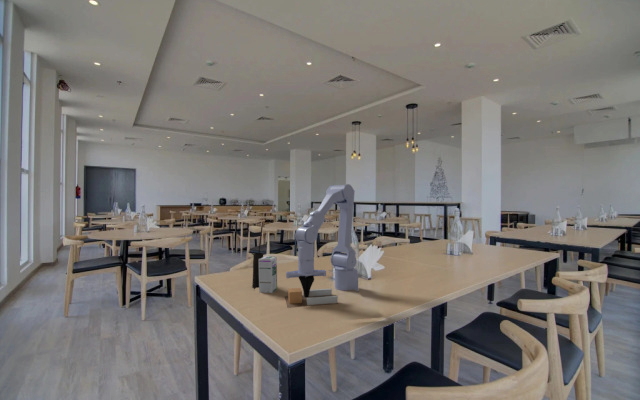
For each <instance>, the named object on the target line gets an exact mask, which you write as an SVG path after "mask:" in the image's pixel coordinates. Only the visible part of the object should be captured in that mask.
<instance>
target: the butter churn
mask: <svg viewBox="0 0 640 400" xmlns="http://www.w3.org/2000/svg"><path fill="white" fill-rule="evenodd" d="M263 225H264V223H263V222H261V227H260V235H259V242H258V243H259V244H258V252H256V253H253V252H251V255H252V257H253V259H252V285H251V287H252V288H254V289H256V288H257V289H259V259H261V258H263V257H264V253H262V252H261V250H260V249H261V243H262V237H263V236H262V235H263V234H262V233H263Z"/></svg>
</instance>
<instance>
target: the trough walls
mask: <svg viewBox="0 0 640 400" xmlns="http://www.w3.org/2000/svg"><path fill="white" fill-rule="evenodd" d="M302 295H303V297H304V291H303V290H302ZM323 295H332V296H326V297H312V298H307V305H315V304H328V303H338V304H339V302H338V300H339V296H338V295H333V289H332V288H319V289H310V292H309V296H323Z"/></svg>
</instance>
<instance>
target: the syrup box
mask: <svg viewBox="0 0 640 400" xmlns="http://www.w3.org/2000/svg"><path fill="white" fill-rule="evenodd" d="M277 263H278V261H277V256H272V255H267V256H266V255H265V256H264V255H263V258H261V259H259V288H258V292H259V293H265V294H267V293H269V294H274V292H276V291H277V290H278V272H277V271H278V270H277V269H278V266H277Z"/></svg>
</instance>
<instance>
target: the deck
mask: <svg viewBox="0 0 640 400" xmlns="http://www.w3.org/2000/svg"><path fill="white" fill-rule="evenodd" d="M326 296H333V294H332V295H323V296H309V297H303V294H302V303H291V304H289V300H288V295H287V296H284V299H285V304H286V307H287V308H288V309H289V308H301V307H316V306H326V305H328V306H329V305H339V302H338V303H328V304H315V305H307V298H312V297H326Z"/></svg>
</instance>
